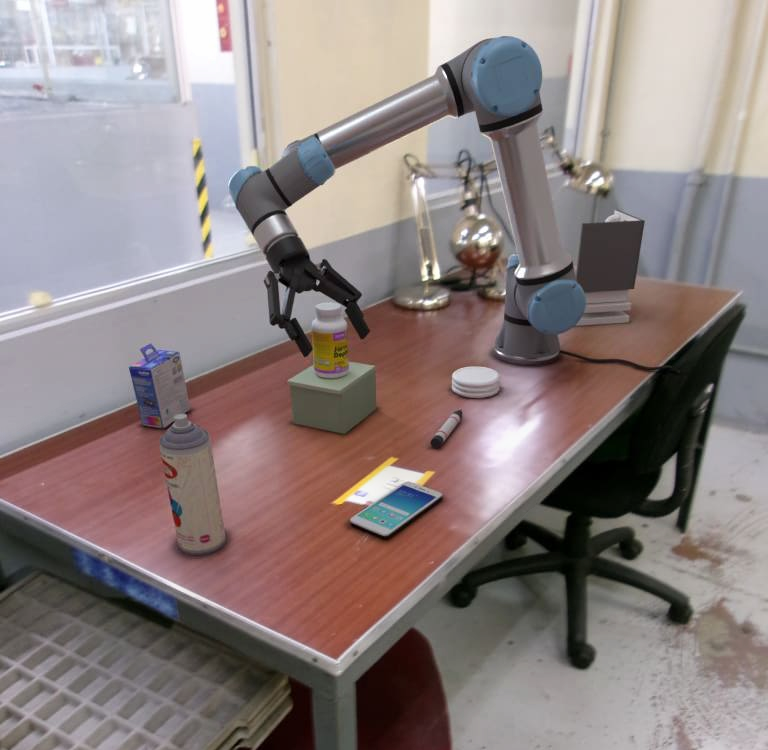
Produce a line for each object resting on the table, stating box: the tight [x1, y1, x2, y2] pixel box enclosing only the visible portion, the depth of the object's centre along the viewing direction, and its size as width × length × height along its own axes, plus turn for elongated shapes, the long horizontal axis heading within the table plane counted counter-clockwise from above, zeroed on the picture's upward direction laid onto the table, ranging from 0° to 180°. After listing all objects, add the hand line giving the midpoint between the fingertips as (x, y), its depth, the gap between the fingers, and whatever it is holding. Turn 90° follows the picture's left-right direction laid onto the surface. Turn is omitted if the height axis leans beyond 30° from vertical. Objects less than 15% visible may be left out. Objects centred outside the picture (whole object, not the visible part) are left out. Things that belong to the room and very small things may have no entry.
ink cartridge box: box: [128, 343, 191, 429], centre depth 144 cm, size 10×6×14 cm, turn 161°
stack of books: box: [574, 209, 645, 327], centre depth 193 cm, size 16×19×25 cm
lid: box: [286, 361, 376, 395], centre depth 142 cm, size 14×11×1 cm
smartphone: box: [349, 480, 443, 540], centre depth 115 cm, size 8×1×15 cm
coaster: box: [451, 365, 501, 399], centre depth 156 cm, size 10×10×4 cm
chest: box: [289, 369, 377, 435], centre depth 144 cm, size 13×11×8 cm
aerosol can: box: [159, 413, 227, 556], centre depth 104 cm, size 7×7×20 cm
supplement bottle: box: [310, 301, 350, 378], centre depth 138 cm, size 7×7×13 cm
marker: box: [430, 409, 463, 449], centre depth 139 cm, size 15×2×2 cm, turn 157°
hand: (338, 344), depth 137 cm, fingers open, 13 cm apart
